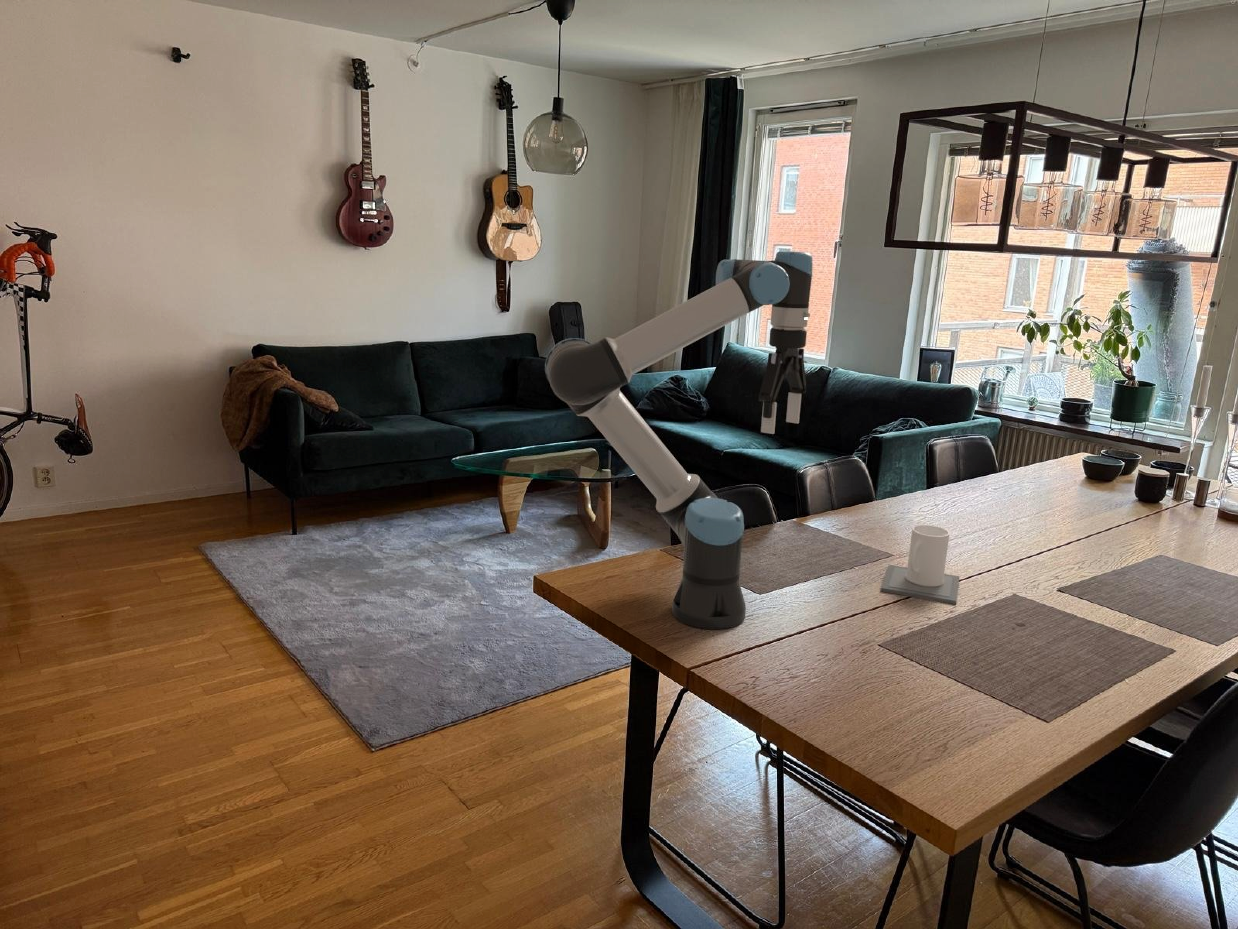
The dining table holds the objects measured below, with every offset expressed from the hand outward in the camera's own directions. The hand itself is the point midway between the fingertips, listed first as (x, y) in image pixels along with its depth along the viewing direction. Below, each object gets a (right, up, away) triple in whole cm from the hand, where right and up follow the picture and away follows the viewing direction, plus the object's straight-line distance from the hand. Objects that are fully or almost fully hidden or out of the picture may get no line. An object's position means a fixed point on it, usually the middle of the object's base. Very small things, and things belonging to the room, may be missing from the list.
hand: (780, 427), depth 189 cm
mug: (+35, -35, +14) cm, 51 cm away
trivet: (+35, -36, +14) cm, 52 cm away
